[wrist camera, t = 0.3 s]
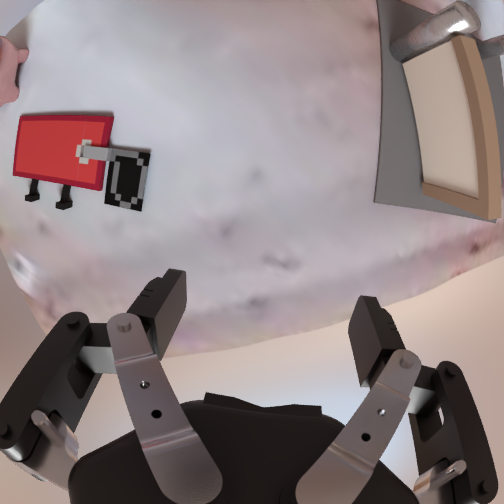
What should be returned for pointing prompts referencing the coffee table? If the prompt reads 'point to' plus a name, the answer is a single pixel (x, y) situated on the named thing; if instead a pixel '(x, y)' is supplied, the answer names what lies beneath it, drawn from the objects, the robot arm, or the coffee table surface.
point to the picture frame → (456, 127)
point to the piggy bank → (9, 69)
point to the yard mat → (403, 118)
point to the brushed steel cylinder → (444, 34)
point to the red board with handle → (78, 158)
